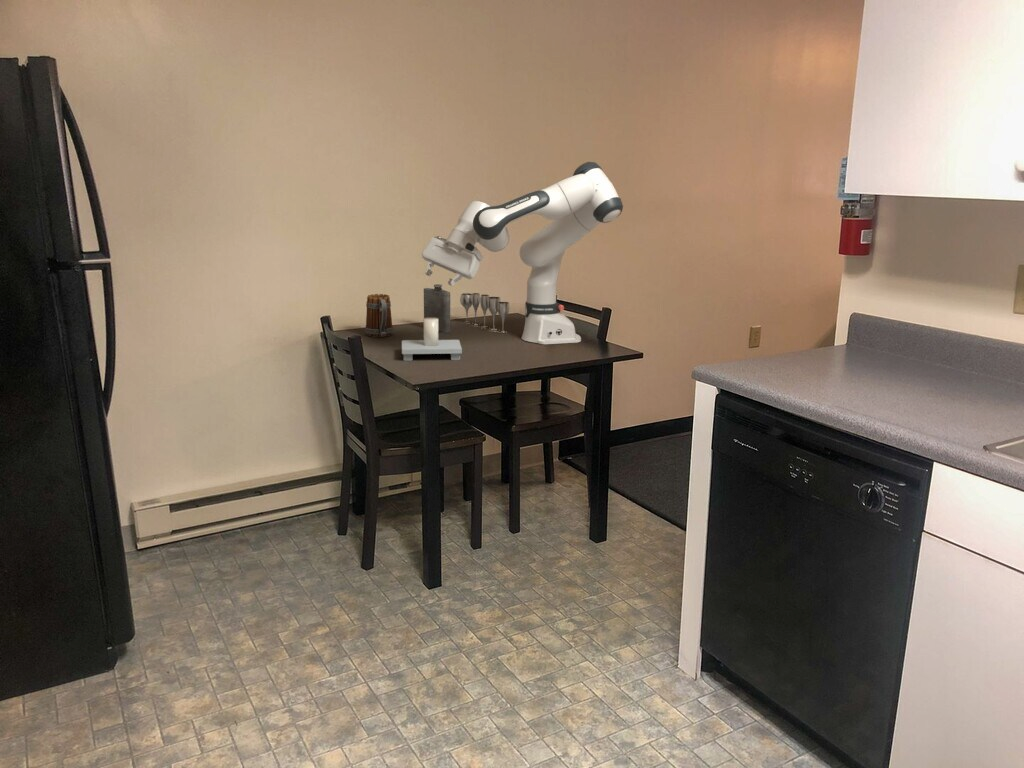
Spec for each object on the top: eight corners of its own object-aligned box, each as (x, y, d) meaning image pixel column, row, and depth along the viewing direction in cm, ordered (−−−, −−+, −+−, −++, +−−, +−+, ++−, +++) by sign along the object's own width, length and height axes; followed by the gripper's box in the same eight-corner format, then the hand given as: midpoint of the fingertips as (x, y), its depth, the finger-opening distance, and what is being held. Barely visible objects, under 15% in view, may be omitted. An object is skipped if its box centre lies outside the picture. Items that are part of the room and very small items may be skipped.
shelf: (459, 350, 286) (459, 339, 285) (461, 360, 273) (461, 349, 271) (402, 351, 283) (401, 340, 282) (402, 361, 270) (401, 349, 269)
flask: (429, 326, 324) (429, 281, 319) (453, 332, 315) (453, 286, 310) (422, 327, 322) (422, 282, 317) (446, 333, 312) (446, 287, 307)
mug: (362, 332, 311) (361, 294, 307) (389, 330, 315) (389, 292, 311) (371, 341, 297) (369, 301, 293) (399, 339, 301) (398, 299, 297)
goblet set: (512, 332, 316) (513, 299, 313) (501, 334, 313) (501, 300, 309) (468, 321, 336) (468, 289, 333) (457, 322, 333) (457, 290, 329)
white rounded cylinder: (438, 342, 279) (438, 317, 277) (438, 346, 275) (438, 320, 272) (423, 343, 279) (423, 317, 276) (424, 346, 274) (423, 320, 272)
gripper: (431, 229, 269) (410, 264, 267) (481, 250, 261) (460, 286, 259) (437, 238, 275) (417, 273, 273) (487, 259, 267) (466, 294, 265)
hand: (438, 279), depth 266 cm, fingers open, 8 cm apart
